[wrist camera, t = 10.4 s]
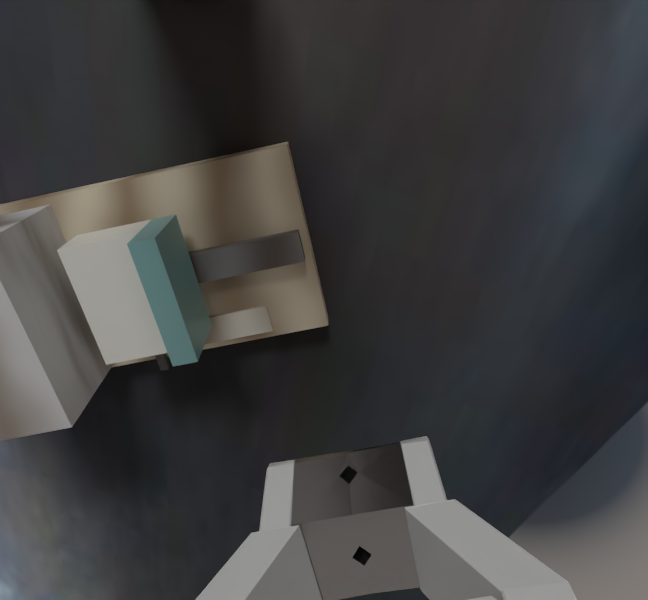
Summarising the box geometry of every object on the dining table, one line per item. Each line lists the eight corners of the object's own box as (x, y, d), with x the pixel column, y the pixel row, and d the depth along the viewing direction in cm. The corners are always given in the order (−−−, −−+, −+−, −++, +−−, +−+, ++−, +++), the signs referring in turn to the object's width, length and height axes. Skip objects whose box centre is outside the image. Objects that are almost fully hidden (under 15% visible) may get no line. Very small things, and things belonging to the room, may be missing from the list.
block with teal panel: (175, 214, 35) (154, 238, 30) (222, 355, 39) (209, 395, 34) (77, 235, 35) (41, 261, 30) (133, 372, 39) (109, 414, 35)
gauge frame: (288, 141, 36) (279, 168, 27) (327, 316, 41) (331, 386, 32) (-40, 213, 37) (-148, 260, 29) (38, 372, 43) (-32, 453, 34)
